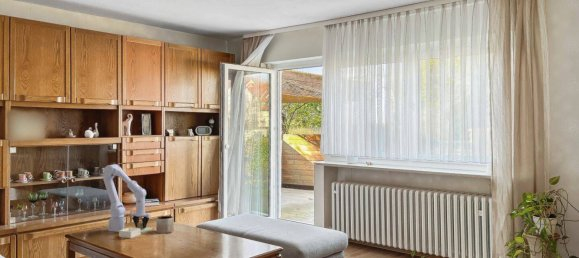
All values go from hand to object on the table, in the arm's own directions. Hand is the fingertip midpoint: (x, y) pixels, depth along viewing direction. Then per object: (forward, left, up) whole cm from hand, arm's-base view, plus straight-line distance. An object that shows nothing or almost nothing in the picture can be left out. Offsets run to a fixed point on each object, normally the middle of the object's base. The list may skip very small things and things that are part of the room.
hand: (140, 227), depth 296 cm
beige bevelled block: (+4, -15, -2) cm, 16 cm away
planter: (+17, +3, -2) cm, 17 cm away
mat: (0, 0, -2) cm, 2 cm away
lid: (0, 0, -2) cm, 2 cm away
